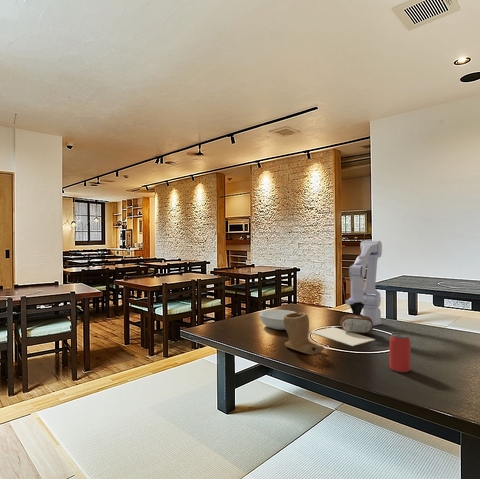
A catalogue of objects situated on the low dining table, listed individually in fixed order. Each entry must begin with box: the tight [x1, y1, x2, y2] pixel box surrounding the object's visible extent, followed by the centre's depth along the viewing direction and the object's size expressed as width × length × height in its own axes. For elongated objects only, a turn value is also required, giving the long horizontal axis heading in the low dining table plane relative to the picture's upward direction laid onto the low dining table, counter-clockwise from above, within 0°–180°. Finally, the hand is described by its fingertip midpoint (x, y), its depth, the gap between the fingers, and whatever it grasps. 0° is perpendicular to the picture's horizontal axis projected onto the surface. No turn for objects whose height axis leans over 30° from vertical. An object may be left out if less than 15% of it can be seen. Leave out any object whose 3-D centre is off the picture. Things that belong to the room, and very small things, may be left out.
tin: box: [339, 314, 374, 334], centre depth 161 cm, size 15×3×8 cm, turn 84°
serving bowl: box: [259, 309, 295, 331], centre depth 171 cm, size 21×21×7 cm
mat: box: [310, 326, 376, 347], centre depth 157 cm, size 16×24×1 cm, turn 34°
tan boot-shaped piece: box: [284, 311, 325, 355], centre depth 137 cm, size 15×12×15 cm
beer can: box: [388, 332, 412, 373], centre depth 118 cm, size 7×7×12 cm
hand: (356, 318), depth 163 cm, fingers closed
